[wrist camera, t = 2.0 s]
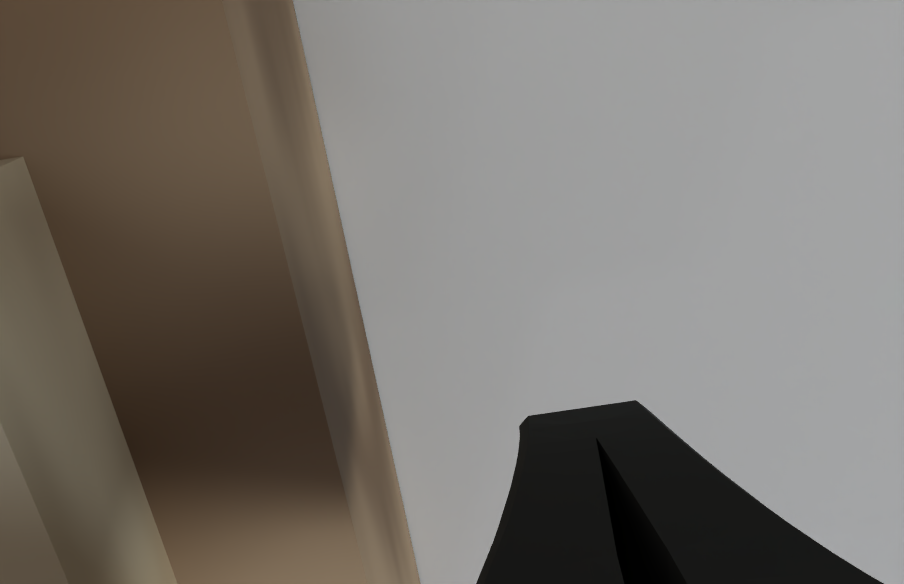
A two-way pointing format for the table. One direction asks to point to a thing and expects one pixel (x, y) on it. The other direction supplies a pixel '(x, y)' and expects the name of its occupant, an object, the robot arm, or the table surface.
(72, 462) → the birch tile
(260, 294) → the walnut deck
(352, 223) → the table surface
